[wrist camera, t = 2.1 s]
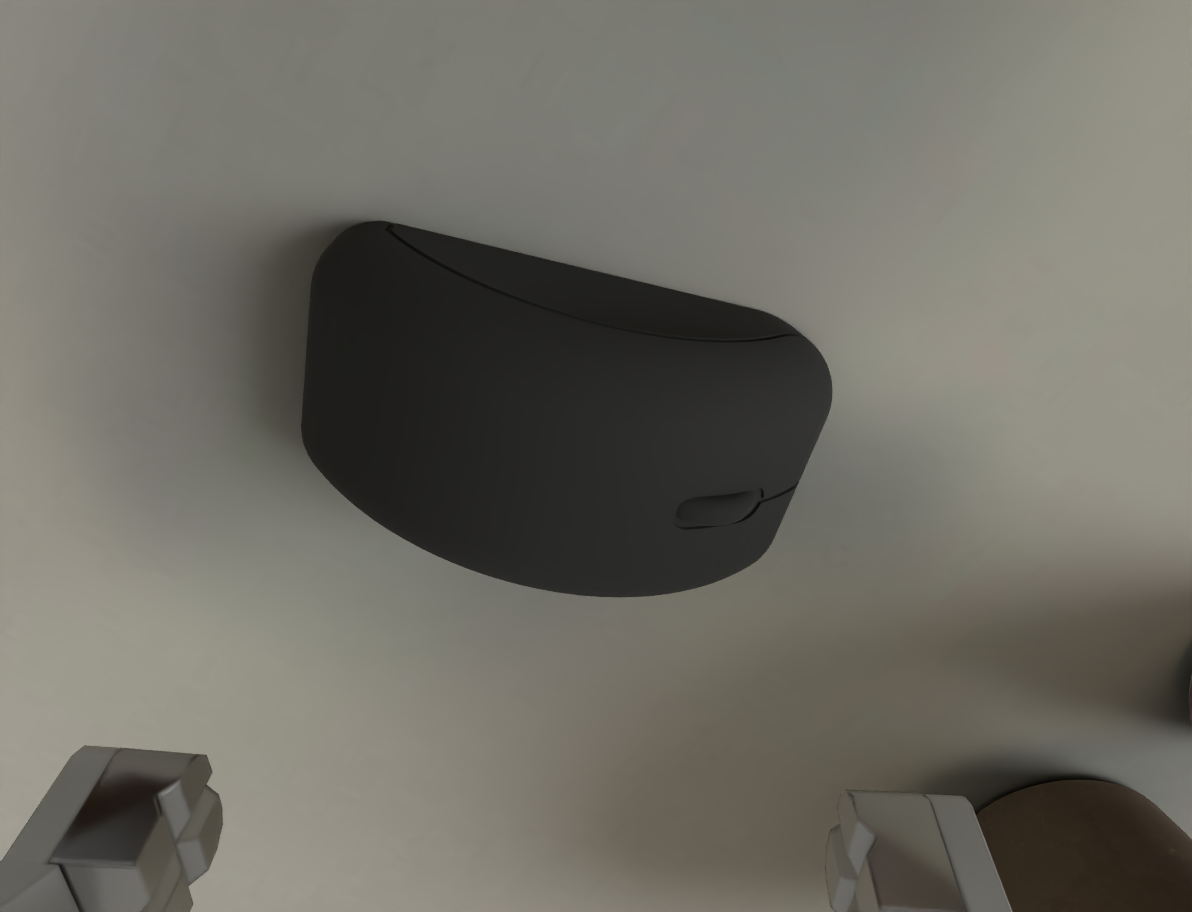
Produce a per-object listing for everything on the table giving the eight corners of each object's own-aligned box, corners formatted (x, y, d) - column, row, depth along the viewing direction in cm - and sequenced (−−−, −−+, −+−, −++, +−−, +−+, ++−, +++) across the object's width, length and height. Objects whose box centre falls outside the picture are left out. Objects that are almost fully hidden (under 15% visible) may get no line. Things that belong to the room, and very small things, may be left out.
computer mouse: (750, 551, 23) (771, 665, 19) (306, 456, 22) (246, 561, 18) (844, 329, 19) (890, 422, 16) (325, 205, 18) (256, 275, 15)
